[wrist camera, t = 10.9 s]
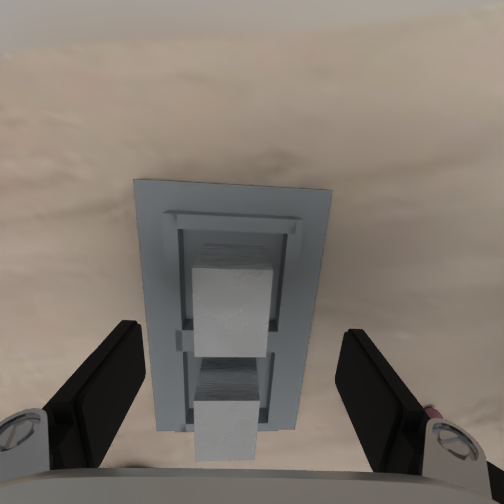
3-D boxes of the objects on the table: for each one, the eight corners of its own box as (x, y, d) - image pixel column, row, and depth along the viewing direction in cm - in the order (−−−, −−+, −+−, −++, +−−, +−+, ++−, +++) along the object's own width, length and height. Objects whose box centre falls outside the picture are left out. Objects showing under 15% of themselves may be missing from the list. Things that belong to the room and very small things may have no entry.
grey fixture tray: (327, 189, 18) (341, 191, 15) (293, 419, 25) (298, 445, 23) (139, 178, 17) (122, 179, 14) (159, 421, 24) (151, 447, 22)
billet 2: (255, 349, 21) (259, 400, 16) (251, 400, 22) (254, 460, 18) (204, 348, 20) (193, 400, 16) (204, 400, 22) (195, 461, 17)
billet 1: (264, 245, 18) (273, 270, 13) (259, 313, 20) (265, 357, 15) (204, 243, 17) (191, 267, 13) (205, 312, 19) (194, 356, 15)
